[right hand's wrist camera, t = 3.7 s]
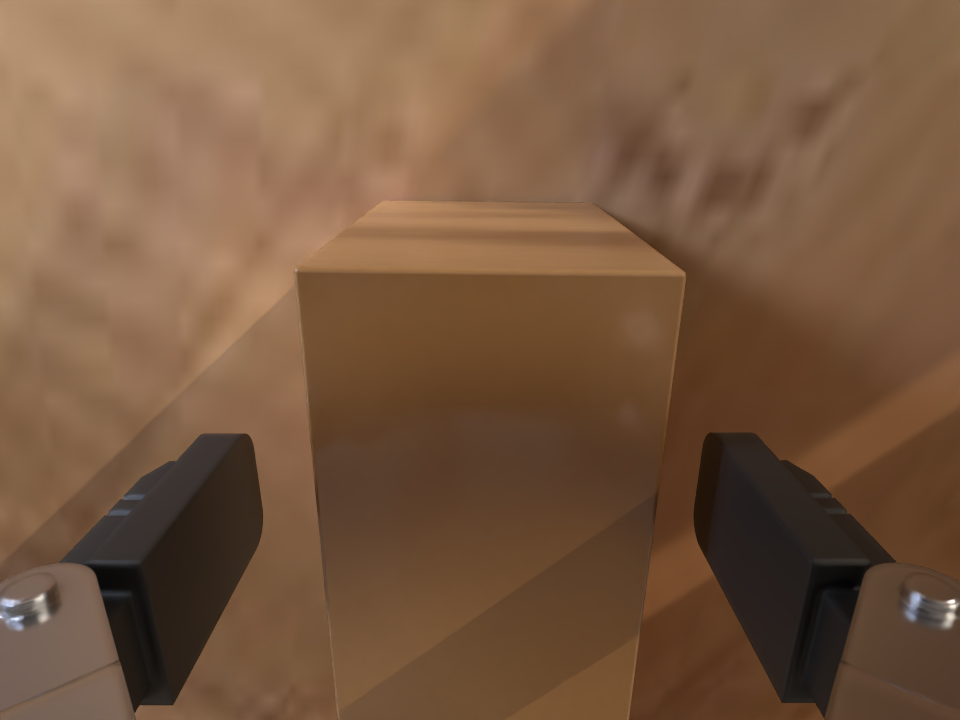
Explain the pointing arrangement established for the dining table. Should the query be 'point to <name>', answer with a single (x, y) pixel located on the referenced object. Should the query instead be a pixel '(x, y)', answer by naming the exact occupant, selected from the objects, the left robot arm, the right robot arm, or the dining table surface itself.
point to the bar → (487, 455)
